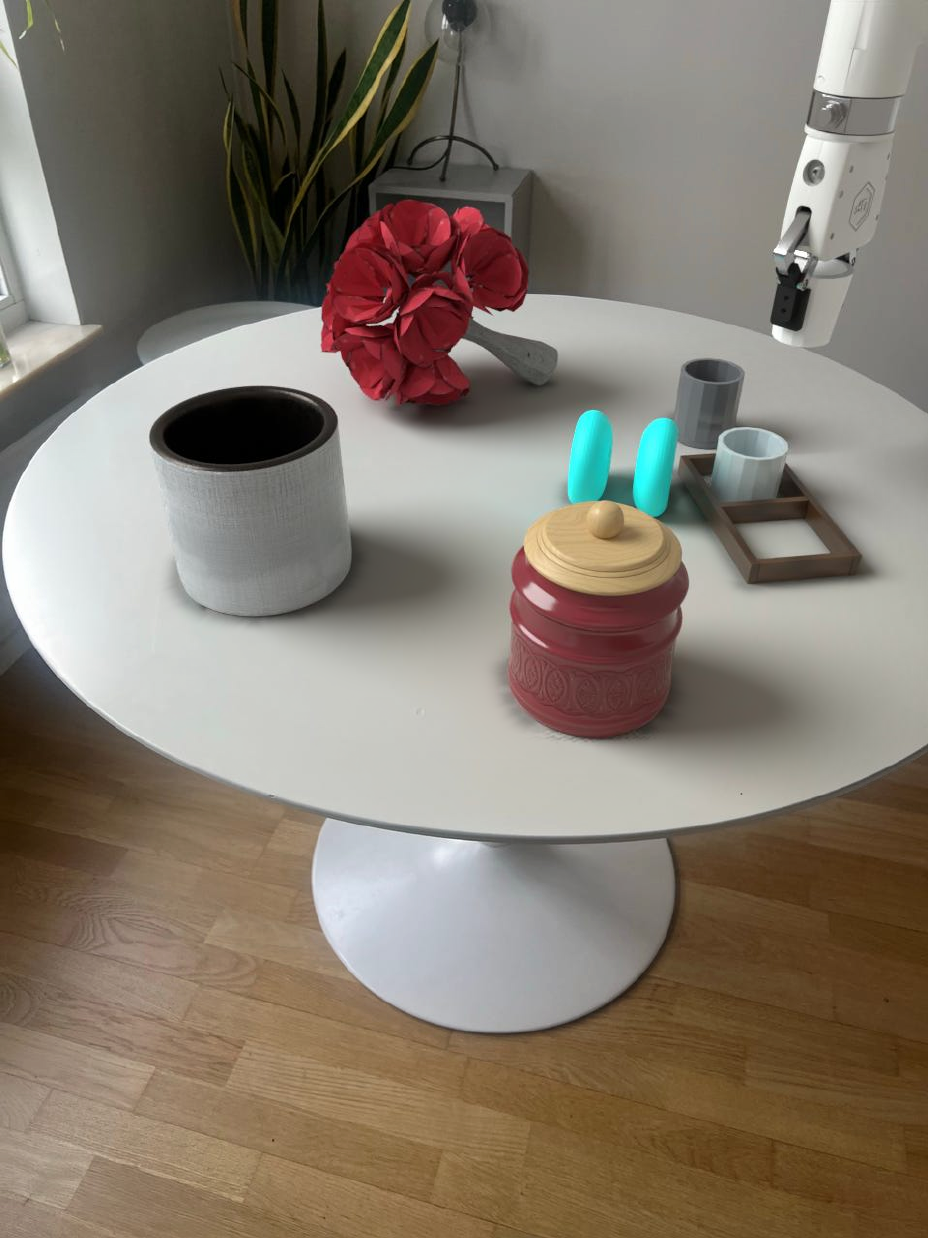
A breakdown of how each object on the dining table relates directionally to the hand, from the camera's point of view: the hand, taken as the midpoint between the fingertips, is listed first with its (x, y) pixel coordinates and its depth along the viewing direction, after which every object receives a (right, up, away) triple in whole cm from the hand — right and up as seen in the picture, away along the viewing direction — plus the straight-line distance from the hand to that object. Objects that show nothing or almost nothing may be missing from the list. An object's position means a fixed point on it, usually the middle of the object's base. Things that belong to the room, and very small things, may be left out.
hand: (806, 315), depth 92 cm
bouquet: (-37, -2, +27) cm, 45 cm away
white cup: (0, -2, +1) cm, 2 cm away
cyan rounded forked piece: (-18, -18, +6) cm, 26 cm away
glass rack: (-4, -21, +3) cm, 21 cm away
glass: (-5, -18, +6) cm, 19 cm away
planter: (-52, -26, -3) cm, 58 cm away
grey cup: (-6, -8, +18) cm, 21 cm away
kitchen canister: (-24, -36, -16) cm, 46 cm away
